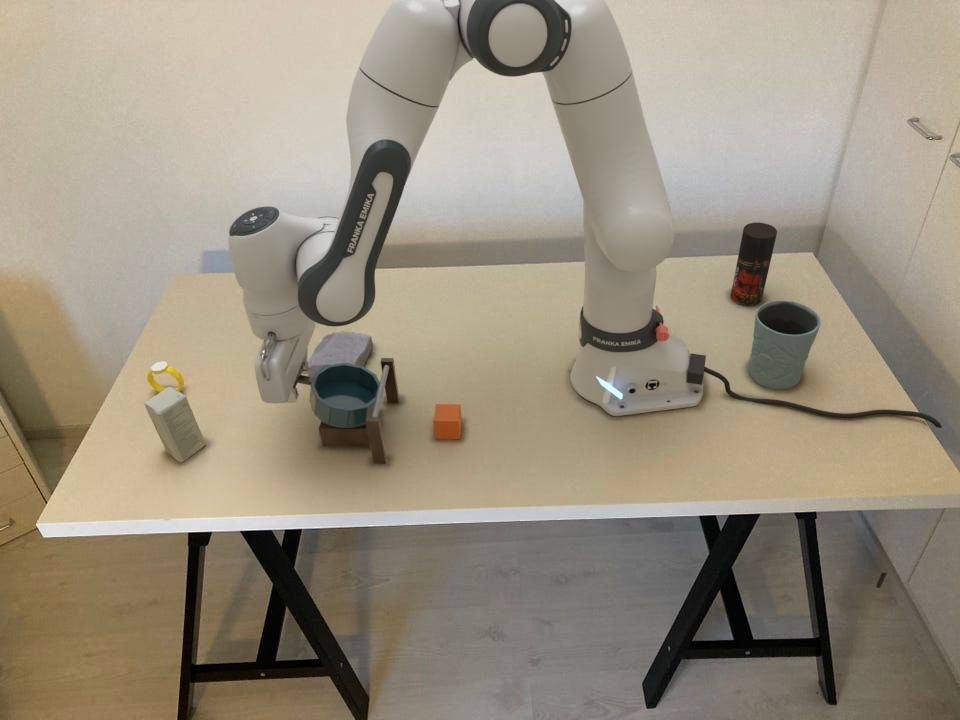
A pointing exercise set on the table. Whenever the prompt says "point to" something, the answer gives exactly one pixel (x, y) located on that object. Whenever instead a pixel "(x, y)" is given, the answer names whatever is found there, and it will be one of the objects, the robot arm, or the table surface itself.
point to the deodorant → (753, 263)
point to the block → (447, 421)
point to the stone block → (340, 350)
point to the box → (175, 423)
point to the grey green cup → (781, 343)
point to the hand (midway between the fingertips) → (297, 385)
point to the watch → (161, 368)
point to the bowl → (344, 394)
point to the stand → (368, 432)
